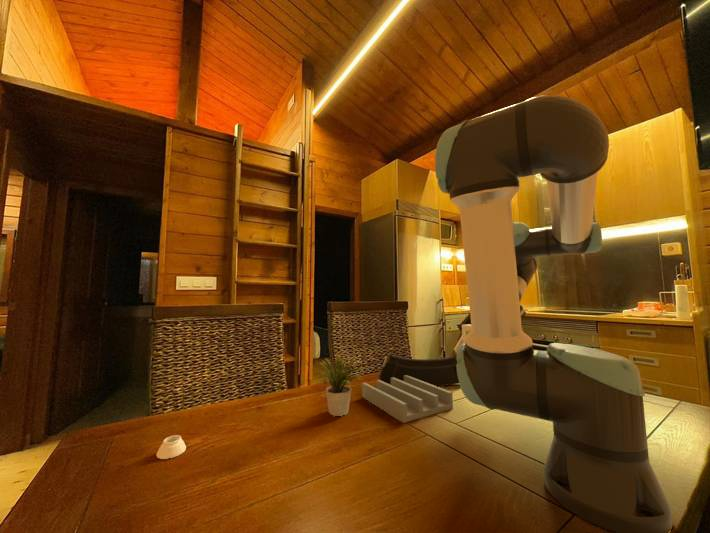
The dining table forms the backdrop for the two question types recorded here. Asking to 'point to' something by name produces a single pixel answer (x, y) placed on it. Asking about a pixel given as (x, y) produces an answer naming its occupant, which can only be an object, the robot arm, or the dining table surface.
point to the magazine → (421, 370)
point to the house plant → (339, 385)
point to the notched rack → (408, 398)
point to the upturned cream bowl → (171, 447)
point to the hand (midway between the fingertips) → (472, 356)
